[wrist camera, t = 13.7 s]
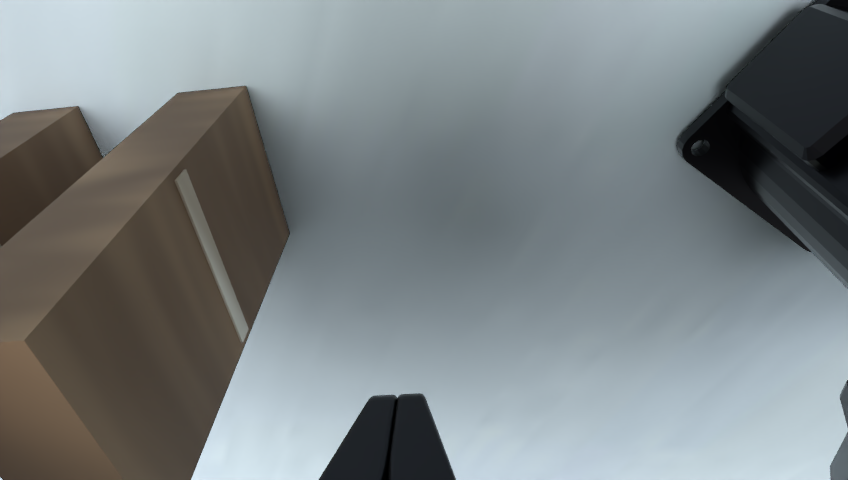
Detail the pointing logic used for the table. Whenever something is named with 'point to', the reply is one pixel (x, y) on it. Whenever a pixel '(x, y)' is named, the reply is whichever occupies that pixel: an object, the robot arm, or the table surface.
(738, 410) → the table surface
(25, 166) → the tile
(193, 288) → the tile
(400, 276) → the table surface
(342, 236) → the table surface
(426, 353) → the table surface
